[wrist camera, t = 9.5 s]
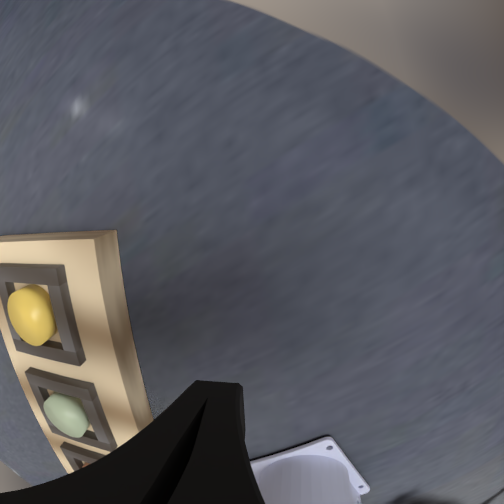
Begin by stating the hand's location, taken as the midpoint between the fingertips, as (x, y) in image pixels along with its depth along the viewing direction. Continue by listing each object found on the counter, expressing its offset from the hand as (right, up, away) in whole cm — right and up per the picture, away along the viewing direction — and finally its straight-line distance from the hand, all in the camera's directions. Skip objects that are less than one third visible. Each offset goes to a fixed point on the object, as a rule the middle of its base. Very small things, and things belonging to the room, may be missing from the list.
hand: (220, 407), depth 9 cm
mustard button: (-13, +1, +8) cm, 15 cm away
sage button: (-12, -7, +10) cm, 18 cm away
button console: (-12, -6, +13) cm, 19 cm away
